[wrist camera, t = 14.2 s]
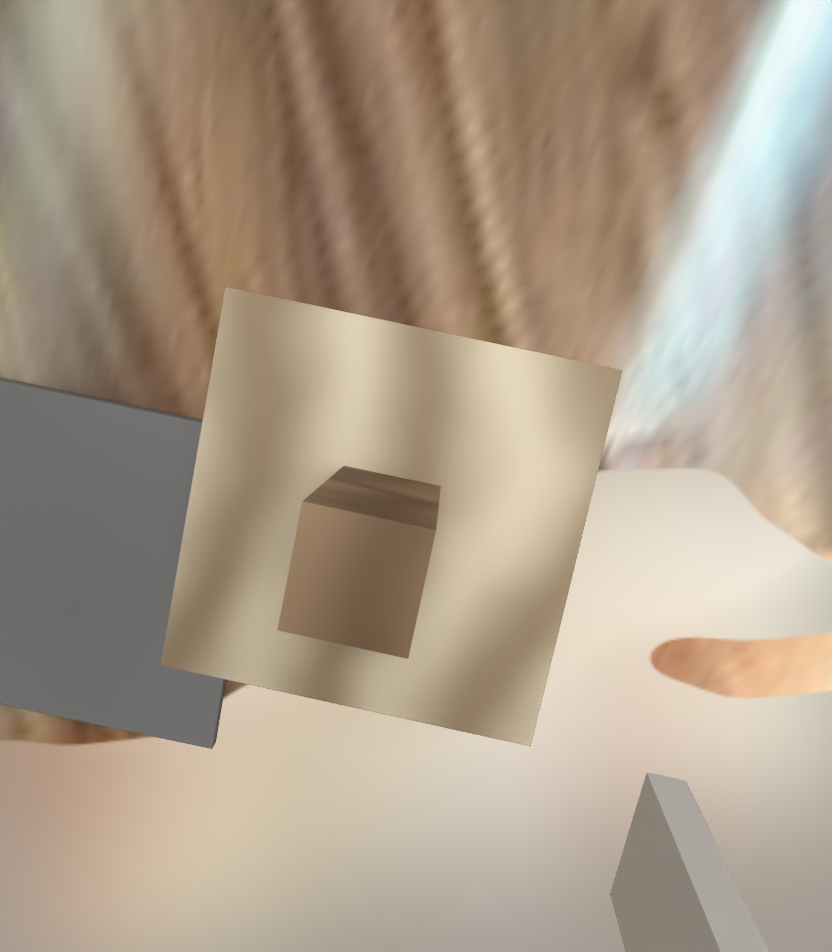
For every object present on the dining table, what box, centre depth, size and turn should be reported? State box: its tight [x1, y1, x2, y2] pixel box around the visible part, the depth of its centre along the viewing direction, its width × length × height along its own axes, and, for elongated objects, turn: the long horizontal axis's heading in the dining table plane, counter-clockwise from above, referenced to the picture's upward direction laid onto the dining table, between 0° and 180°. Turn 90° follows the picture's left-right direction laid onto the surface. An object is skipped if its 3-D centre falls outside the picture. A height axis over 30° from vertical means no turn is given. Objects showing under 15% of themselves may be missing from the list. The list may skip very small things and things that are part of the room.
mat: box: [0, 378, 226, 749], centre depth 47 cm, size 20×20×1 cm
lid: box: [161, 287, 622, 746], centre depth 28 cm, size 16×16×10 cm
